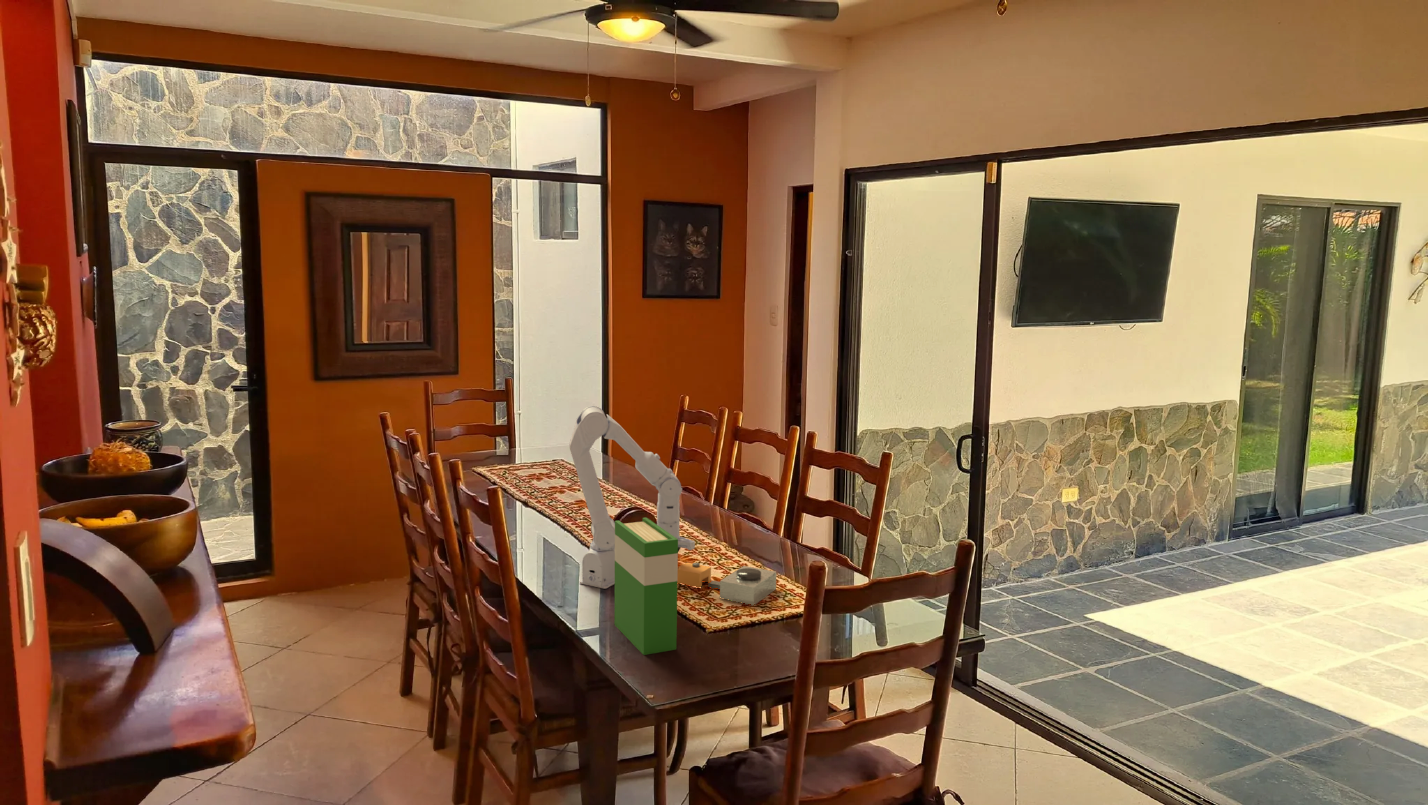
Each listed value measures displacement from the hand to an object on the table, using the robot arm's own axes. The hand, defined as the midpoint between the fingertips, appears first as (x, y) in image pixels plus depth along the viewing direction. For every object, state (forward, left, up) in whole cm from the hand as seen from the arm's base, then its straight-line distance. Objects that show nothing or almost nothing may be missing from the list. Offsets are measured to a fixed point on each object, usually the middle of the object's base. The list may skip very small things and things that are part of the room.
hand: (667, 572), depth 247 cm
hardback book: (-35, -15, -2) cm, 38 cm away
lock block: (0, -7, -2) cm, 8 cm away
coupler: (0, -20, -1) cm, 20 cm away
